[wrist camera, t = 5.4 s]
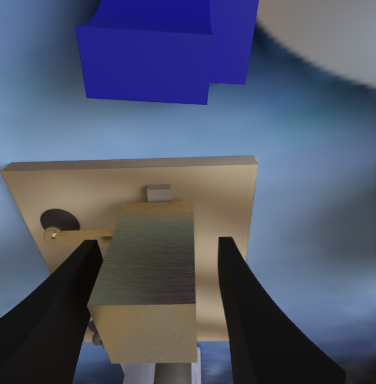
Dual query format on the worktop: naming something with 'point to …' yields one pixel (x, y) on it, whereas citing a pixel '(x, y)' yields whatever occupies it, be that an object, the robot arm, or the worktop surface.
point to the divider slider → (144, 283)
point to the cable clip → (165, 48)
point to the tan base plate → (143, 193)
